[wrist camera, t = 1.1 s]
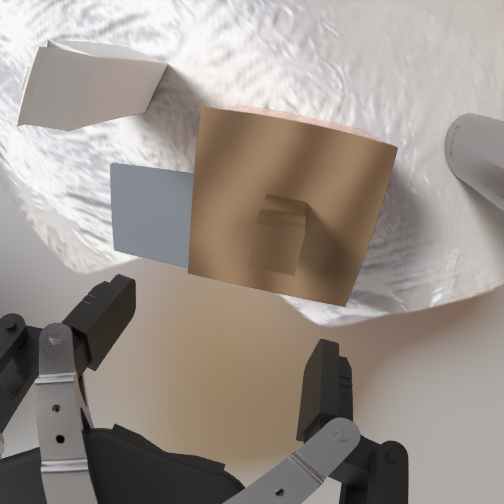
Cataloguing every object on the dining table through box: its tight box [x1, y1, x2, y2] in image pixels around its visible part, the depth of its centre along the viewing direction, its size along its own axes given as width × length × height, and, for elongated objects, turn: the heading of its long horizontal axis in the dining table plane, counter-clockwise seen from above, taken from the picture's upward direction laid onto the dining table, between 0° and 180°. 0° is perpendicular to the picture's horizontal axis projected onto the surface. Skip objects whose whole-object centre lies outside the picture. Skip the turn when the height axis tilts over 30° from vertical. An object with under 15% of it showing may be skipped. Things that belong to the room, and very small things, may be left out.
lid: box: [188, 107, 398, 307], centre depth 23 cm, size 16×16×7 cm
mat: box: [110, 163, 194, 268], centre depth 42 cm, size 14×14×1 cm
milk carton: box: [16, 40, 168, 131], centre depth 25 cm, size 7×7×19 cm
